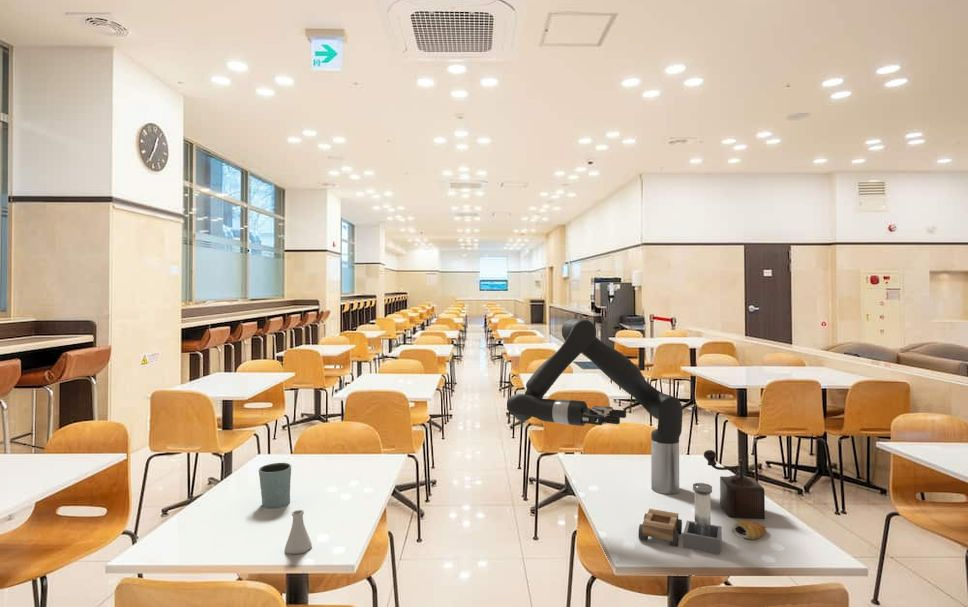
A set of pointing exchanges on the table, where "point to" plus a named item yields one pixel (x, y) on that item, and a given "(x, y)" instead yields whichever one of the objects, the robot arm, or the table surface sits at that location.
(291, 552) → the flask
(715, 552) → the tray
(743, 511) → the manual coffee grinder
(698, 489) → the pin
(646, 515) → the trolley
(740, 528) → the pastry
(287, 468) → the grey cup
